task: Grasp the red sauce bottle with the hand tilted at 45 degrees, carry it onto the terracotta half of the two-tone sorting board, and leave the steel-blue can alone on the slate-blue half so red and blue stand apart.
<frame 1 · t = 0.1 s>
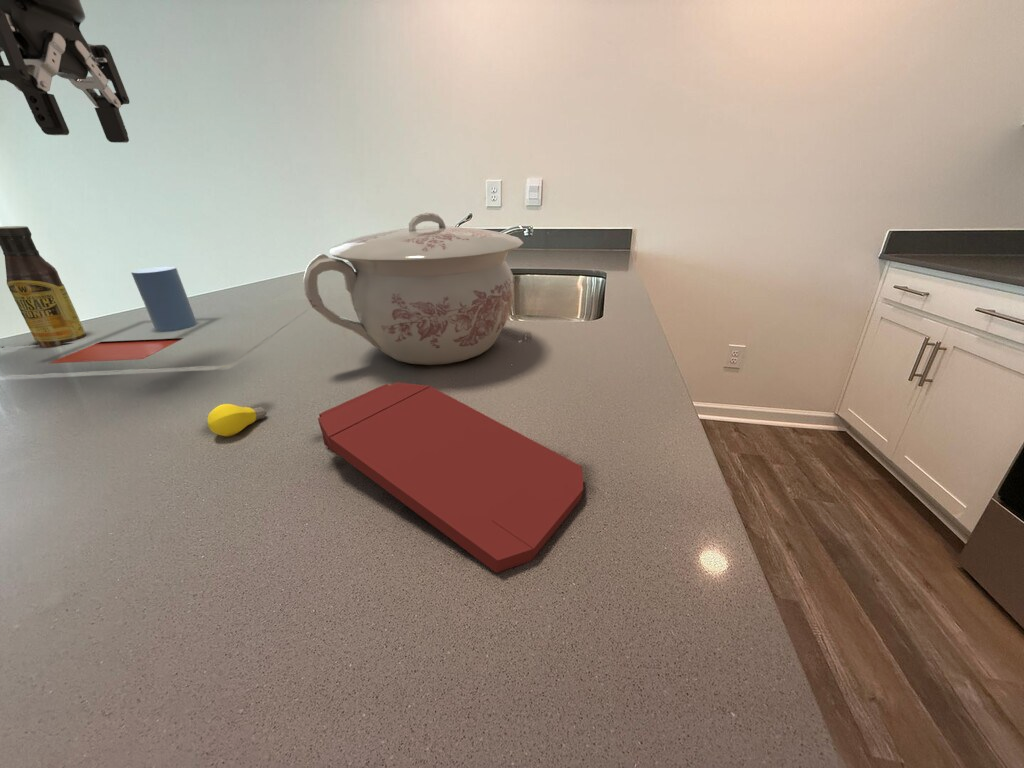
hand: (90, 139, 48), 30 cm above the countertop, tool pointing down, fingers open, 8 cm apart
blue can: (177, 328, 78), point 1 cm above the countertop, touching sorting board
light bulb: (243, 429, 46), on the countertop
red chamfered slab: (441, 472, 38), on the countertop
chamber pot: (439, 350, 67), on the countertop
sauce bottle: (67, 346, 73), on the countertop
sorting board: (145, 343, 72), on the countertop
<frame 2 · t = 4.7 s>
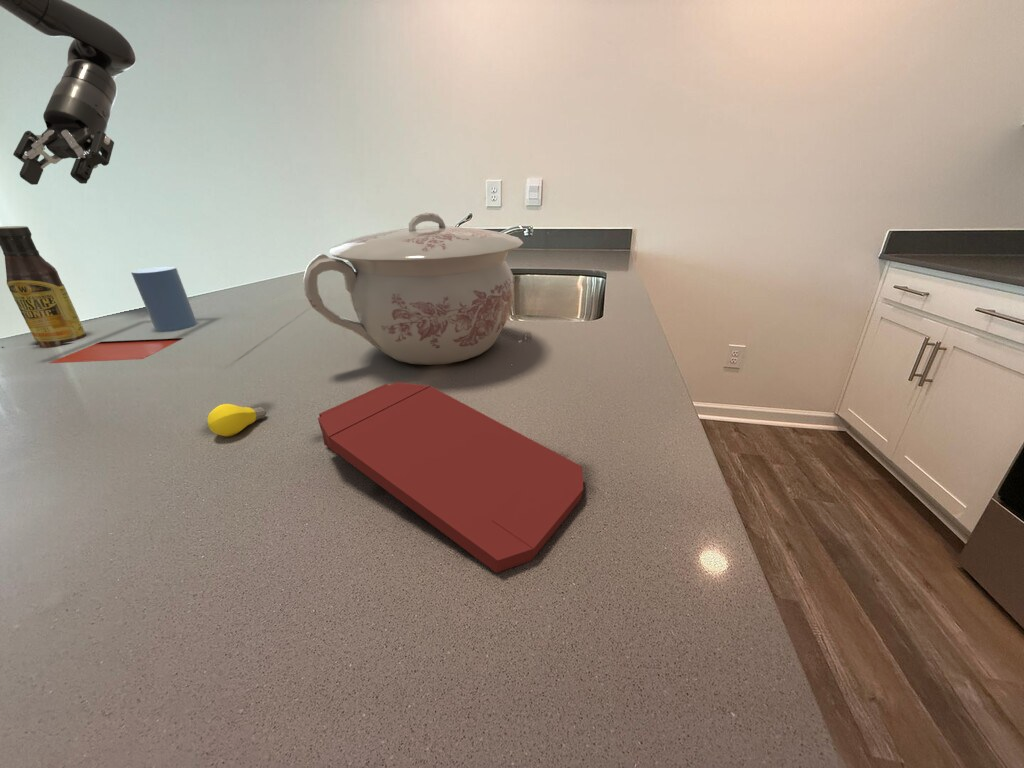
hand: (53, 180, 71), 27 cm above the countertop, tool tilted 45°, fingers open, 8 cm apart
nothing on the countertop moved.
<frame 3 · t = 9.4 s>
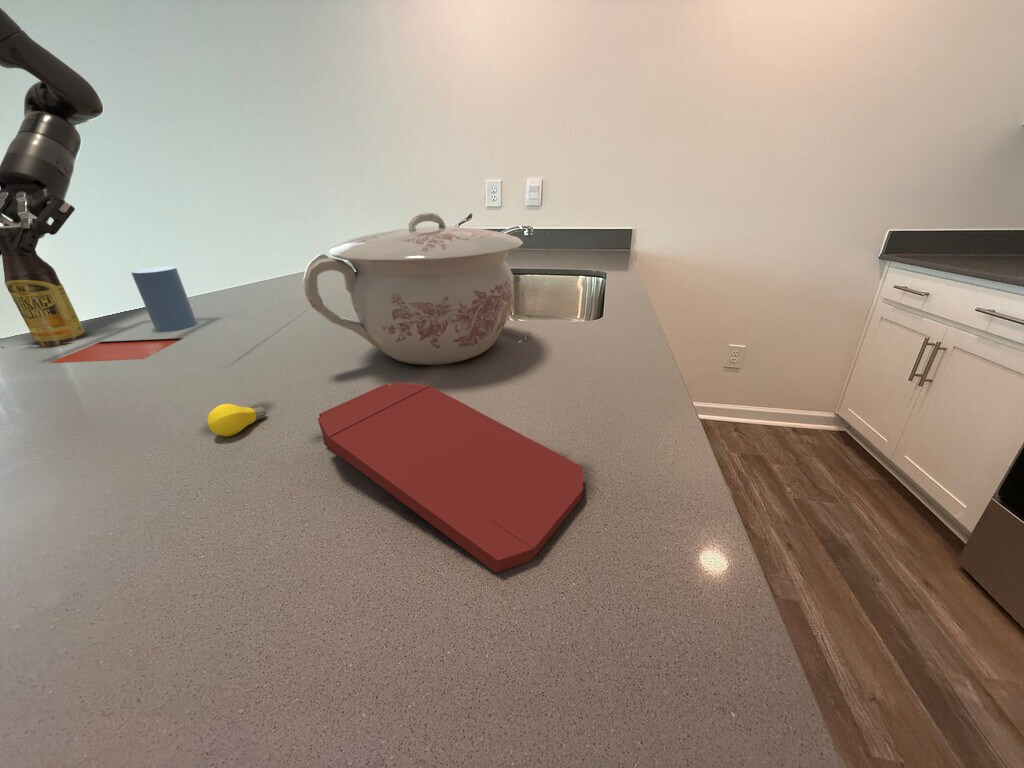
hand: (5, 253, 64), 16 cm above the countertop, tool tilted 45°, fingers closed on sauce bottle, 4 cm apart
sauce bottle: (67, 346, 73), on the countertop, touching gripper
everything else where it was.
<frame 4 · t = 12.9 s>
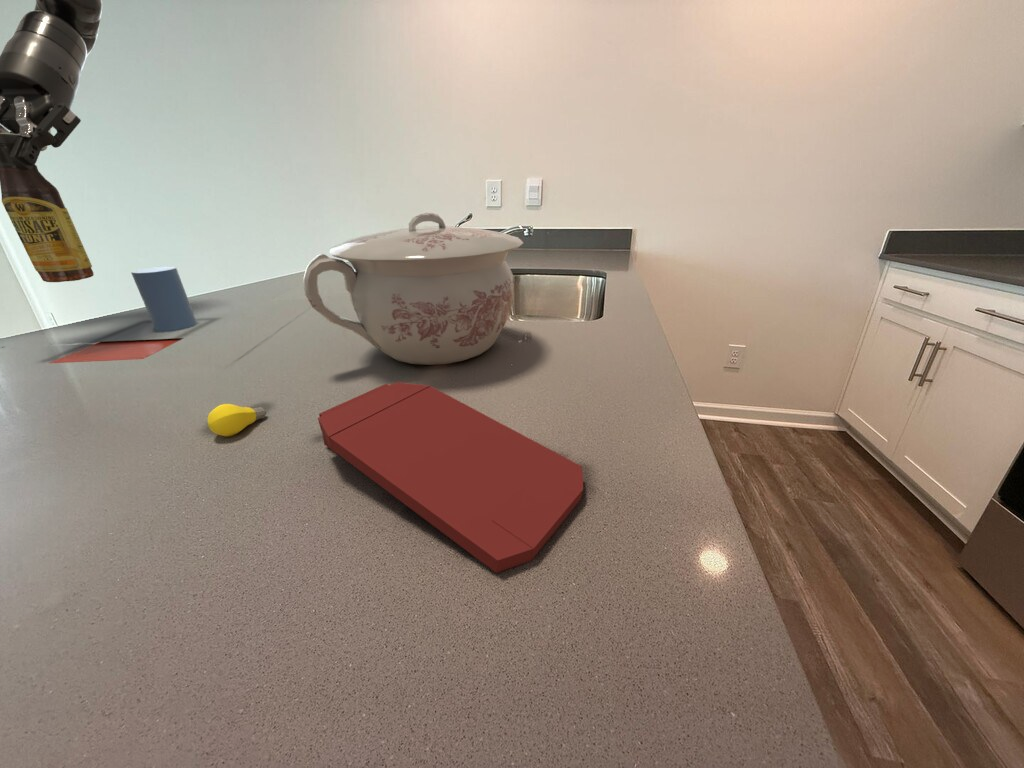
hand: (2, 164, 56), 28 cm above the countertop, tool tilted 45°, fingers closed on sauce bottle, 4 cm apart
sauce bottle: (72, 280, 65), point 12 cm above the countertop, touching gripper
everything else where it was.
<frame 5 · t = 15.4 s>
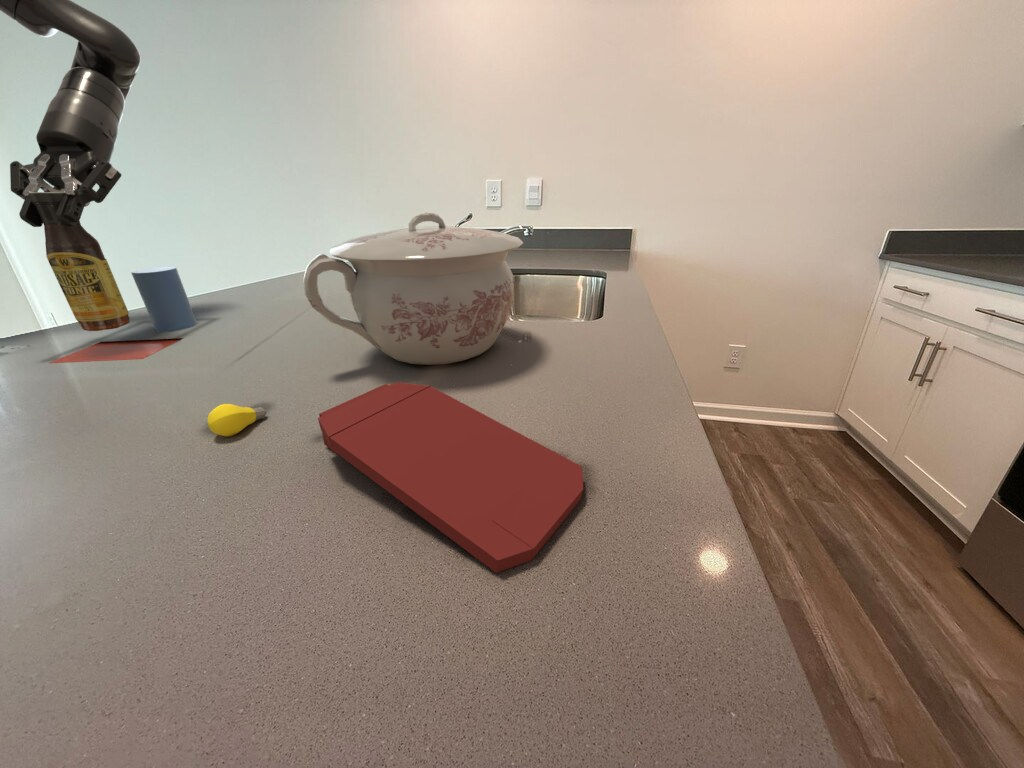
hand: (48, 222, 57), 21 cm above the countertop, tool tilted 45°, fingers closed on sauce bottle, 4 cm apart
sauce bottle: (110, 327, 66), point 4 cm above the countertop, touching gripper
everything else where it was.
when the fingers open (17 cm above the countertop, at t = 16.9 s): sauce bottle stays where it is, resting on sorting board.
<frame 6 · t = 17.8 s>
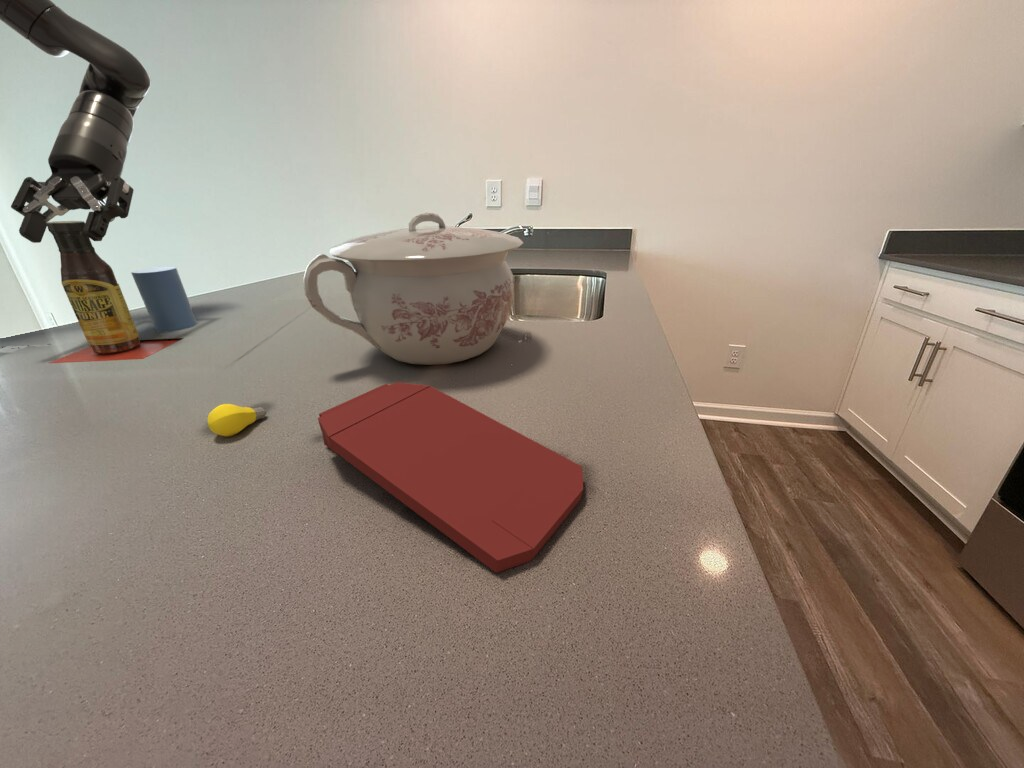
hand: (60, 238, 59), 18 cm above the countertop, tool tilted 45°, fingers open, 8 cm apart
sauce bottle: (120, 350, 68), point 1 cm above the countertop, touching sorting board
everything else where it was.
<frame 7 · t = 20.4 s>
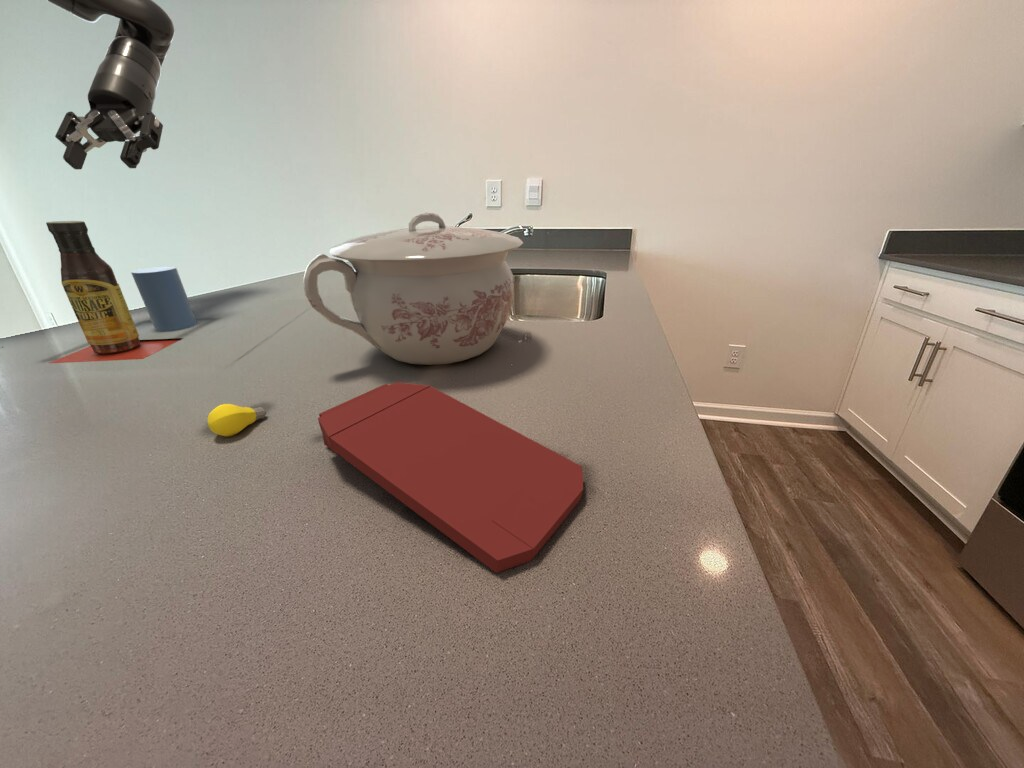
hand: (100, 164, 66), 28 cm above the countertop, tool tilted 45°, fingers open, 8 cm apart
nothing on the countertop moved.
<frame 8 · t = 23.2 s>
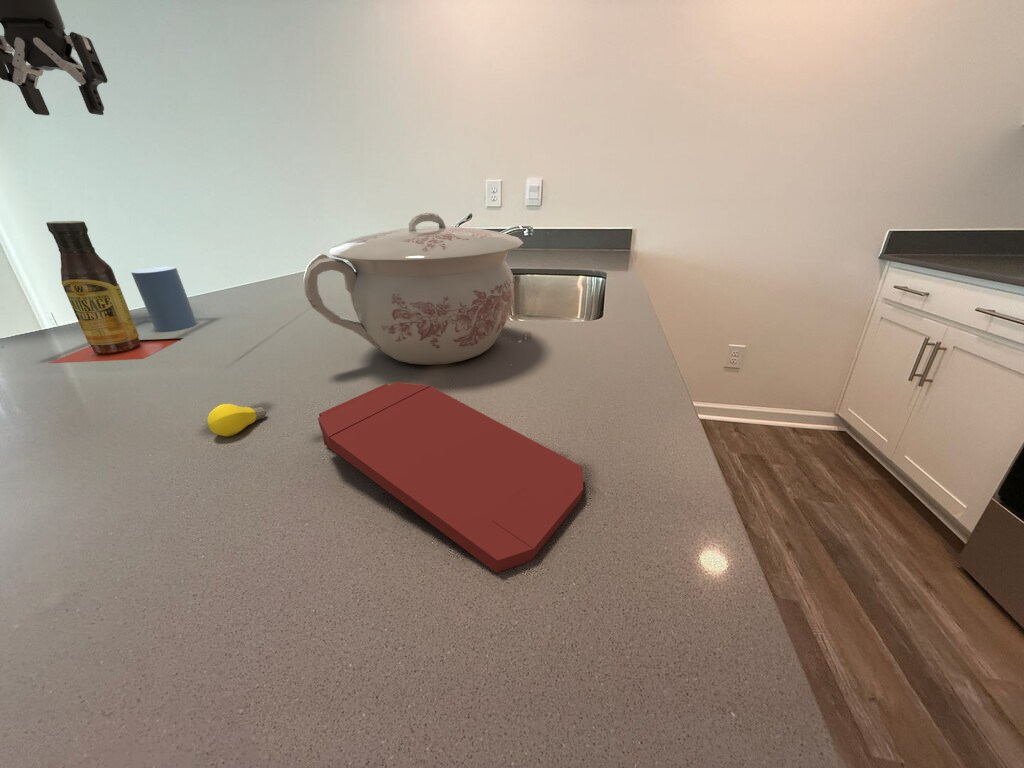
hand: (69, 114, 67), 36 cm above the countertop, tool pointing down, fingers open, 8 cm apart
nothing on the countertop moved.
at the end: sauce bottle inside the target area on the sorting board (0.4 cm from its centre), point 0.6 cm above the sorting board's base; sauce bottle tilted 0°; blue can moved 0.0 cm from its start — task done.
